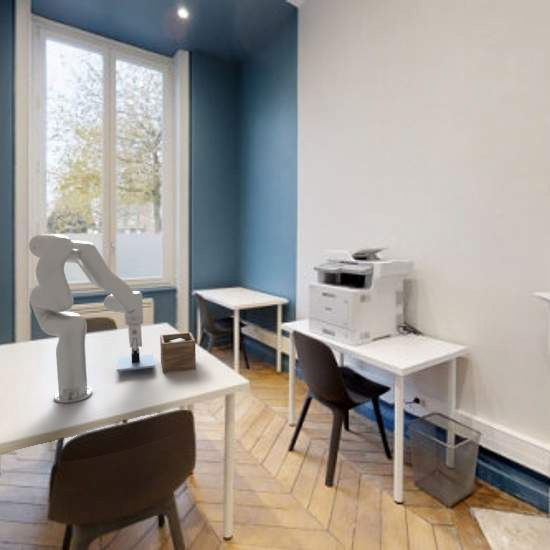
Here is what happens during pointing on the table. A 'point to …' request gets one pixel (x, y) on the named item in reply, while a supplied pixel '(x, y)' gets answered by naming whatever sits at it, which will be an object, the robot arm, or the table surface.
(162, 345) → the walnut box
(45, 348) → the table surface
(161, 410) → the table surface
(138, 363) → the lid
